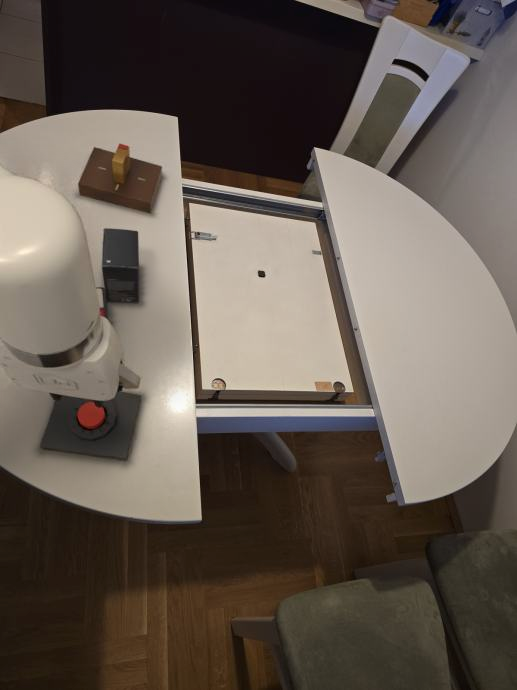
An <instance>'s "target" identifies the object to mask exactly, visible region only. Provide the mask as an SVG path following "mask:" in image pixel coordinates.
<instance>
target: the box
mask: <svg viewBox="0 0 517 690" xmlns="http://www.w3.org/2000/svg"><path fill="white" fill-rule="evenodd" d="M102 232H103V233H102V248H101V270H102V277H103V284H104V288H105V293H106V300H107V303H108V302H110V303H130V304H131V303H133V304H136V303H137V304H138V303H139V302H140V252H139V251H140V249H139V247H140V246H139V244H140V243H139V231H137V230H132V229H124V228H107V227H106V228H103V231H102Z"/></svg>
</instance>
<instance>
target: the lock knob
mask: <svg viewBox="0 0 517 690" xmlns="http://www.w3.org/2000/svg"><path fill="white" fill-rule="evenodd" d="M114 153H115V155H114V157H113V159H112V166H113V178H114V181H115V182H119V183H122V184H124V182H125V179H126V177H127V174H128V171H129V169H130V157H131V156H130V155H131V154H130V153H131V151H130V146H129V145H127V144H124V143H118V145H117V147H116V150H115V152H114Z"/></svg>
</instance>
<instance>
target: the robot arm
mask: <svg viewBox="0 0 517 690" xmlns="http://www.w3.org/2000/svg"><path fill="white" fill-rule="evenodd" d="M90 254H91V253H90V248H89V243H88V238H87V233H86V229H85V225H84V223H83V220H82V217H81V215H80V214H79V212H78V210H77V209H76V207H75V206H74V204H72V202H71V201H70V200H69V199H68V198H67V197H66V196H65V195H64V194H63V193H61V192H60V191H59V190H58V189H56V188H54V187H52V186H50V185H49V184H46V183H45V182H42V181H39V180H37V179H33V178H29V177H26V176H22V175H21V176H20V175H18V174H16V173H15V172H13V171H12V170H10V169H9V168H8V167H6V166H4V165H3V164H2V163H0V366H1V368H2V370H3V371H4V373H5V374H6V376H7V377H8V378H9V379H10V381H12V383H13V384H15V385H16V386H18V387H20V388H24V389H28V390H31V391H38V392H43V393H48V394H49V395H50V397H51V398H52V400H53V401H59V400H61V398H62V395H66V396H72V397H78V398H85V399H91V400H93V401H94V404H95V406H97V407H99V408H101V407H102V404H103V401H107V400H111V399H113V398H114V397H115V395H116V392H123V391H122V390H123V389H125V390H134V389H135V390H136V389H139V388H140V384H141V380H142V377H141V375H139V374H137V373H136V372H134V371H133V370H131V368H129V367H127V366H126V365H124V364H125V356H124V351H123V348H122V344H121V341H120V339H119V336H118V334H117V332H116V330H115V329H114V327H113V325H112V324H111V322H110V320H109V319H108V320H107V319H106V318H105V317H103V316H101V312H100V307H99V302H98V296H97V291H96V287H97V285H96V281H95V274H94V271H93V270H94V269H93V263H92V259H91V255H90Z"/></svg>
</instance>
